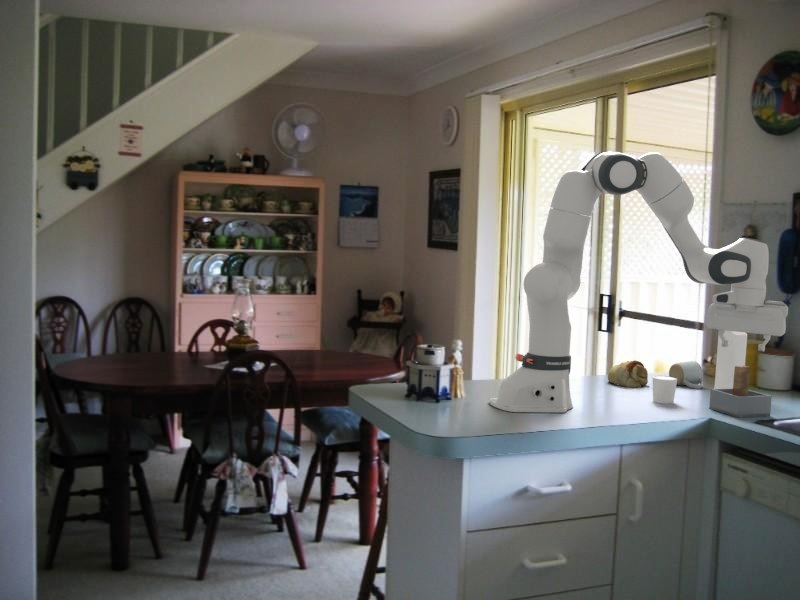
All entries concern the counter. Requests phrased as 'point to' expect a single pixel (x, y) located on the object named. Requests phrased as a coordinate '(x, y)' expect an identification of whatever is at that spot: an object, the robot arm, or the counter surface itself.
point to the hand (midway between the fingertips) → (742, 348)
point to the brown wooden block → (741, 380)
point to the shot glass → (664, 389)
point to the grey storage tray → (740, 403)
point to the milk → (729, 358)
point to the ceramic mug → (687, 374)
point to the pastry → (628, 374)
